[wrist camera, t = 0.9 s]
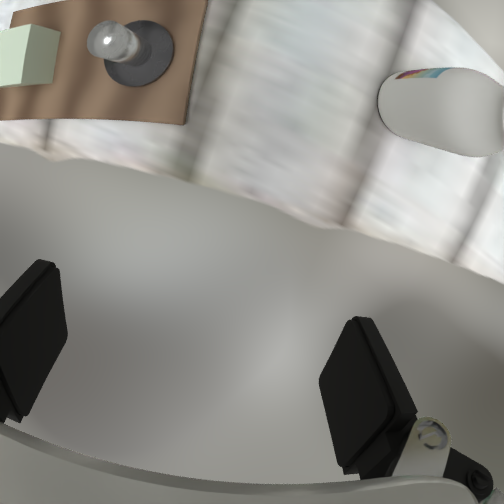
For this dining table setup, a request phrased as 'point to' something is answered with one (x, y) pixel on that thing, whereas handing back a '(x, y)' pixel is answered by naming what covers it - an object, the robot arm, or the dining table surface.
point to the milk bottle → (445, 109)
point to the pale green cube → (27, 55)
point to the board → (113, 61)
